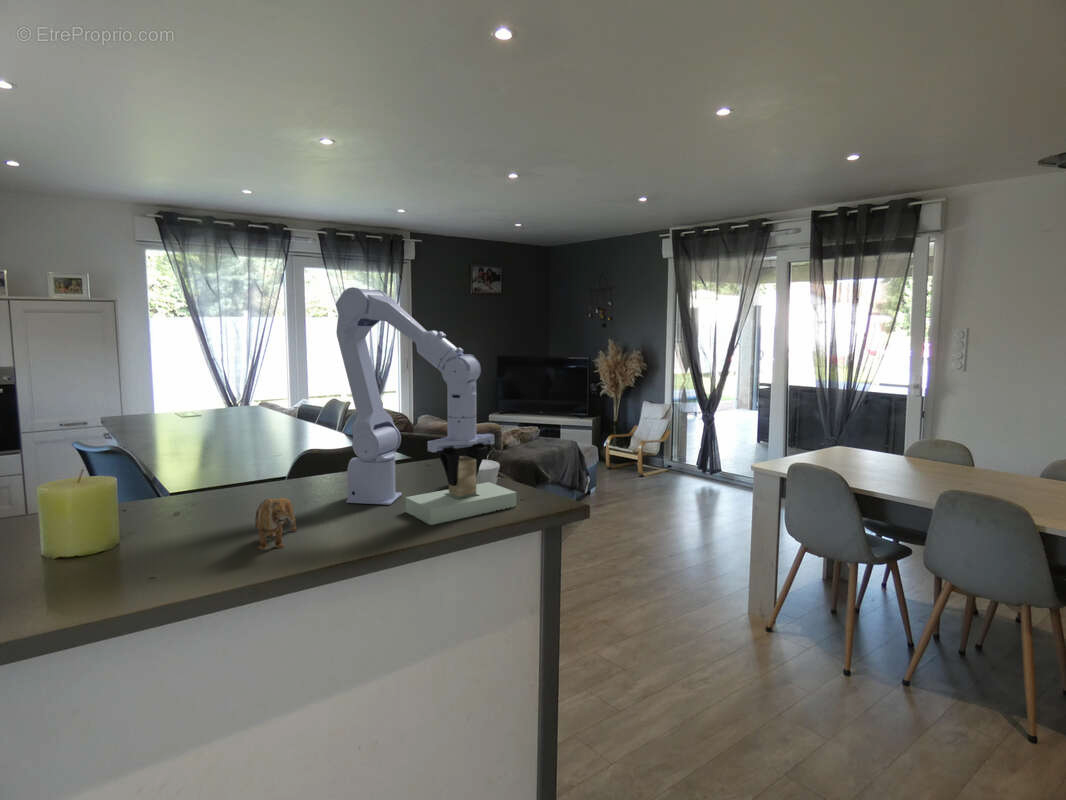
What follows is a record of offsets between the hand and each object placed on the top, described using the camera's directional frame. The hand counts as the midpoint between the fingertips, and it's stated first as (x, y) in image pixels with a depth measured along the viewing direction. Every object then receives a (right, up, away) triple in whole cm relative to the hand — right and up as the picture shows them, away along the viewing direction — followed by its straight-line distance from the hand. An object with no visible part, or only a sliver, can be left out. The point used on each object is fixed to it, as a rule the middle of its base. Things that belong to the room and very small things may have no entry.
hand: (462, 482), depth 125 cm
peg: (0, -2, 0) cm, 2 cm away
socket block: (0, -5, +1) cm, 5 cm away
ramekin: (+1, -4, +19) cm, 19 cm away
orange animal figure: (-29, -8, -19) cm, 36 cm away
